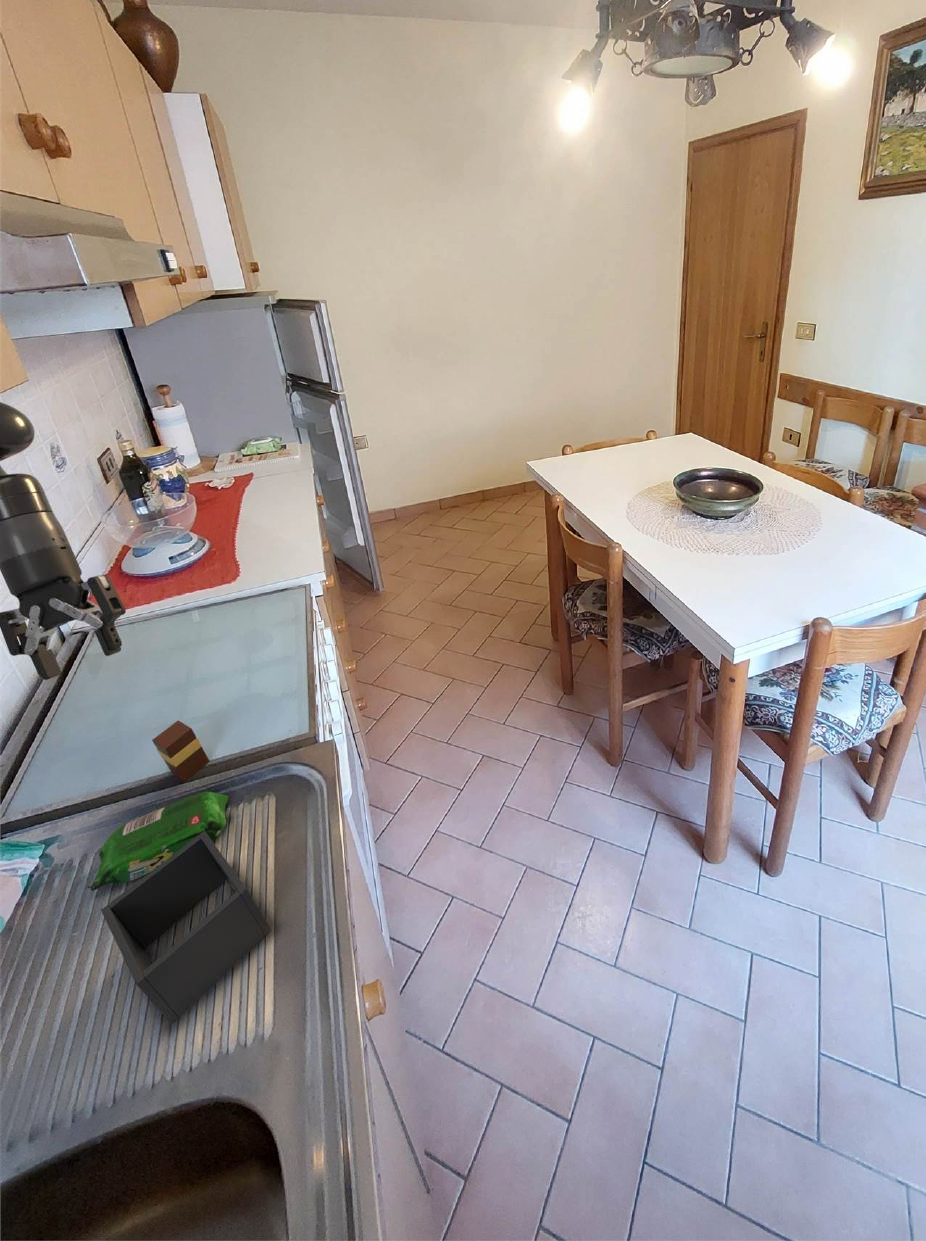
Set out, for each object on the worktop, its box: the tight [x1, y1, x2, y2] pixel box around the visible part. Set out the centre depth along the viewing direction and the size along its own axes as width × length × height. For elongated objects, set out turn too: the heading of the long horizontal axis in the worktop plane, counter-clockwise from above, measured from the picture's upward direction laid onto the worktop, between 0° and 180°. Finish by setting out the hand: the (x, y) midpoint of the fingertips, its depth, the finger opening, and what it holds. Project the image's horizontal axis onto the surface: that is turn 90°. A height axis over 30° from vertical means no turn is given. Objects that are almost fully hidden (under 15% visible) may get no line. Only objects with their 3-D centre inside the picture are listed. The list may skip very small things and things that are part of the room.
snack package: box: [87, 791, 229, 892], centre depth 76 cm, size 7×16×5 cm, turn 118°
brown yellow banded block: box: [151, 720, 210, 783], centre depth 86 cm, size 4×4×8 cm
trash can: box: [100, 831, 272, 1025], centre depth 64 cm, size 11×11×10 cm
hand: (83, 665), depth 77 cm, fingers open, 8 cm apart
